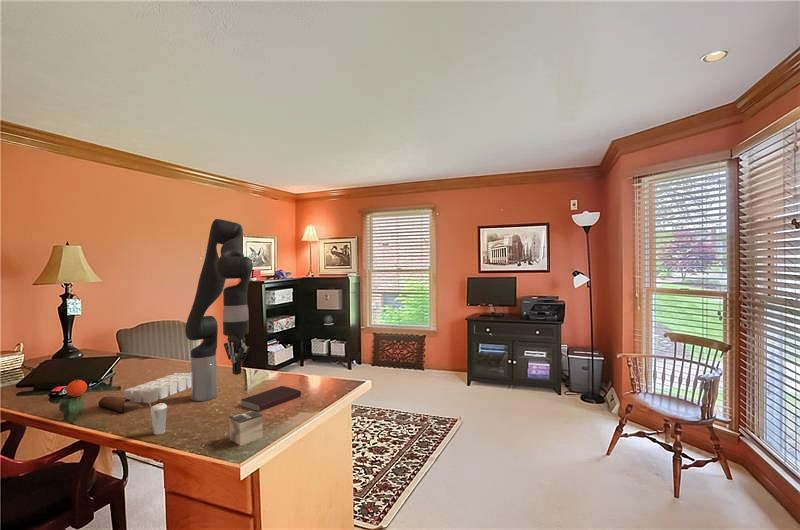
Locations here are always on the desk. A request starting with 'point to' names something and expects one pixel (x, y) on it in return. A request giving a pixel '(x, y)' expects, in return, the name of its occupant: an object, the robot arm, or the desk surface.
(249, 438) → the maple block
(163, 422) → the milkshake
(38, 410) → the desk surface
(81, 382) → the clementine
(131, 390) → the organizer
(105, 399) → the sunglasses case
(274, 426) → the desk surface
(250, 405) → the book
